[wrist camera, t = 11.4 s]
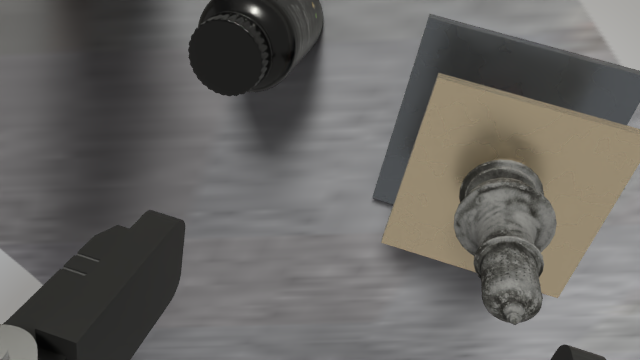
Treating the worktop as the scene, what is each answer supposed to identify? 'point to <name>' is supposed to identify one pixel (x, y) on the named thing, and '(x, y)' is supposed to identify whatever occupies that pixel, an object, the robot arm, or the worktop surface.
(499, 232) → the stone finial
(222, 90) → the supplement bottle
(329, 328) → the worktop surface
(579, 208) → the stand
